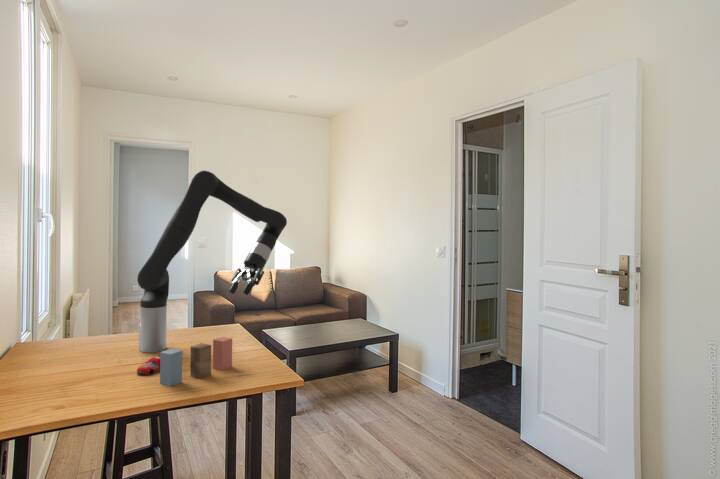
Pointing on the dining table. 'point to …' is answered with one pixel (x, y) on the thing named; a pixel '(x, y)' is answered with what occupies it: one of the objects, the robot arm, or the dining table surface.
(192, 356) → the walnut block
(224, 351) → the red block
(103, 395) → the dining table surface
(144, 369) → the race car
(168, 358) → the slate block
